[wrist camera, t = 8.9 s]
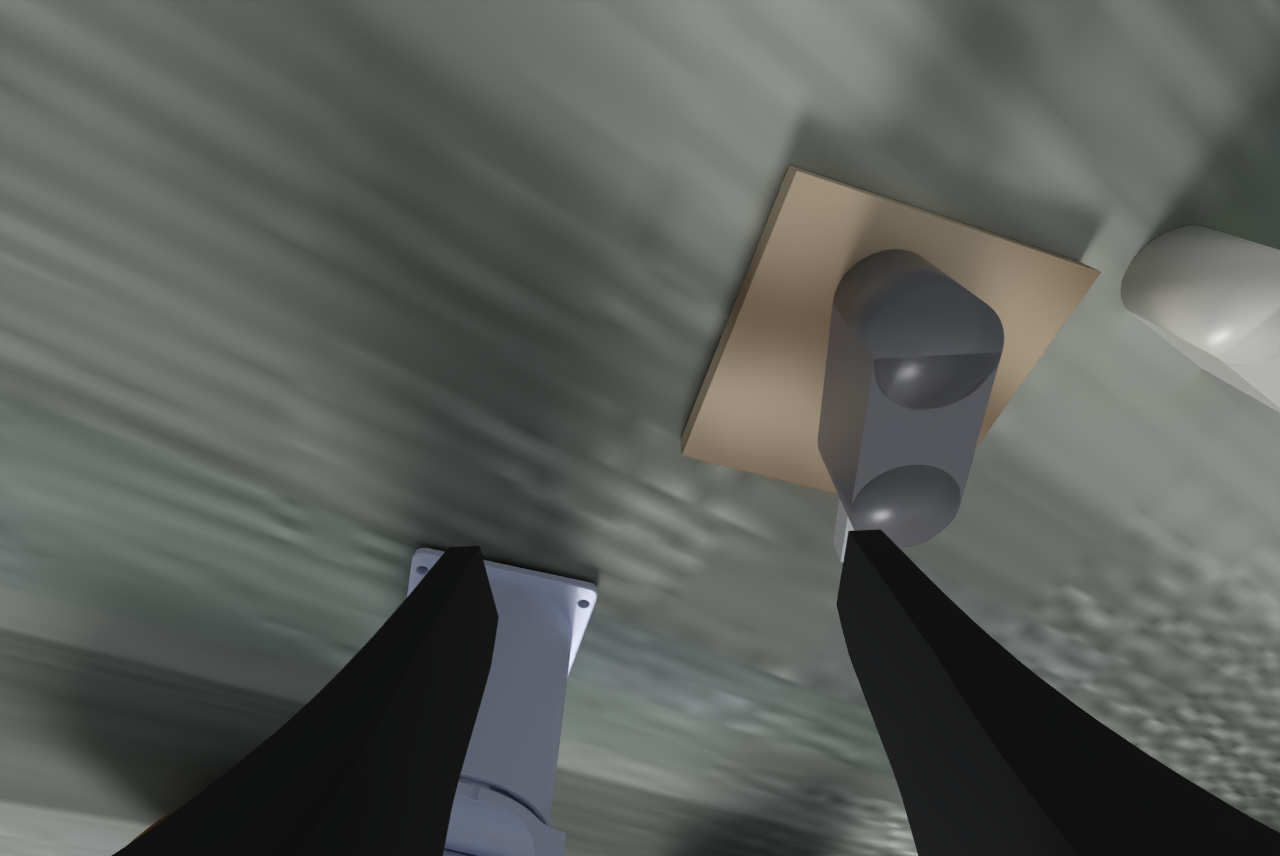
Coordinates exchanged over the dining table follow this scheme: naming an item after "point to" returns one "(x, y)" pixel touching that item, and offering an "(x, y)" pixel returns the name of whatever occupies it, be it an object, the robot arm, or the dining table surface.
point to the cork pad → (802, 306)
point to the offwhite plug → (1213, 304)
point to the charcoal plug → (904, 395)
